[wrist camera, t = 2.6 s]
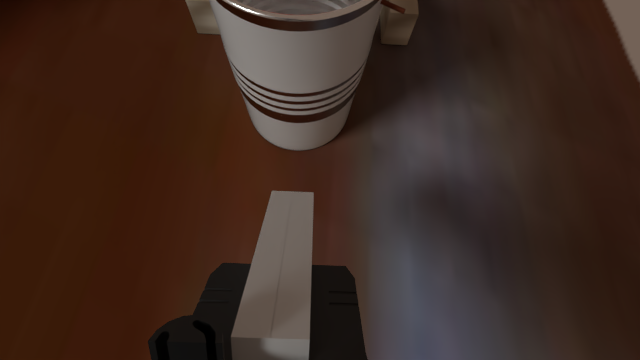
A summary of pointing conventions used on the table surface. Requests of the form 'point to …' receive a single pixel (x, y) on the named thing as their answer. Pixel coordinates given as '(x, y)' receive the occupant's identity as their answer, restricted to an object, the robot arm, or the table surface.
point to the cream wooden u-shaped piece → (391, 22)
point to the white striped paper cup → (298, 62)
